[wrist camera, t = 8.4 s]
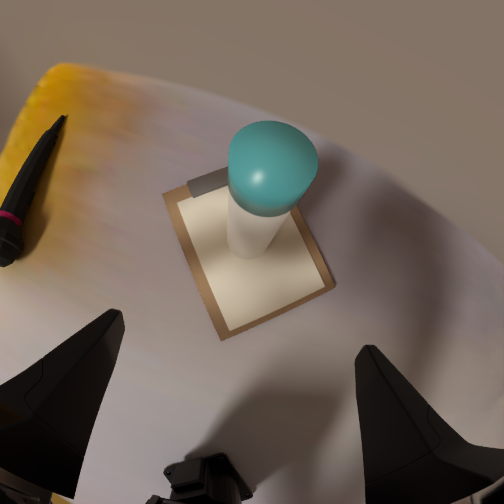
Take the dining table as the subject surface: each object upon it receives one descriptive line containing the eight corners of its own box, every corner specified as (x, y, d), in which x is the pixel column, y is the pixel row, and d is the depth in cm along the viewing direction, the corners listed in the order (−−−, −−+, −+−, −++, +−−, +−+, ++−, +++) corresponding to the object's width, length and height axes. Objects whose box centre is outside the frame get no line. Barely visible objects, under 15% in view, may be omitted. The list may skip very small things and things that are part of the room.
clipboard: (334, 287, 24) (338, 286, 23) (221, 340, 22) (220, 341, 21) (269, 158, 26) (271, 152, 25) (162, 195, 24) (160, 190, 23)
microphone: (62, 134, 28) (4, 272, 21) (40, 109, 23) (-31, 253, 16) (87, 125, 27) (23, 276, 20) (64, 95, 22) (-18, 255, 15)
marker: (278, 236, 24) (333, 155, 11) (251, 269, 23) (284, 214, 10) (244, 209, 24) (266, 108, 11) (216, 241, 23) (209, 157, 11)
